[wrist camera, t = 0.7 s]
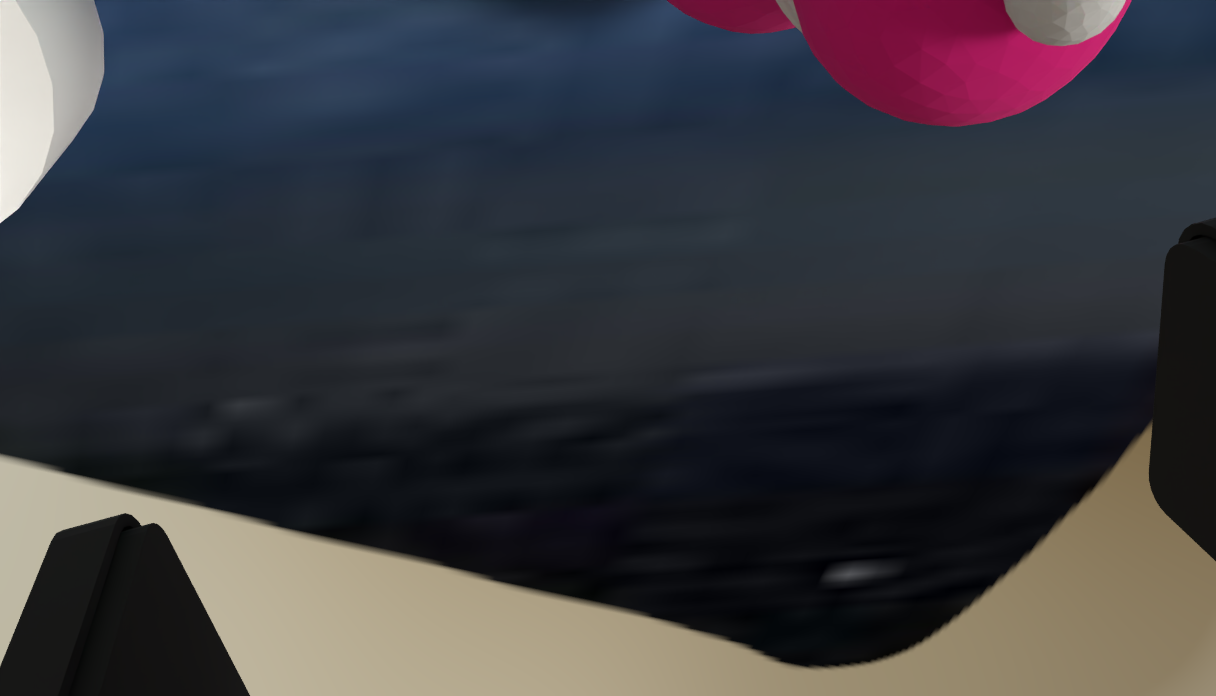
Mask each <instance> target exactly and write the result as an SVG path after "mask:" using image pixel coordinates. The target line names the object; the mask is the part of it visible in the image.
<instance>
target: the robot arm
mask: <svg viewBox="0 0 1216 696" xmlns="http://www.w3.org/2000/svg"><path fill="white" fill-rule="evenodd" d="M1149 482H1150V486H1151V490H1152V493H1153V495H1154V498H1155V500H1156V501H1157V503H1158V504H1159V506H1160V508H1161V509H1162V510H1163V511H1164V512H1165V514H1166V515H1167V516H1169V517H1170V518H1171V519H1172V520H1173V521H1174V522H1175V523H1176V524H1177V525H1178V526H1179V527H1180V528H1182V530H1183V531H1184V532H1186V533H1187V534H1188V535H1189V536H1190V537H1191V538H1192V539H1193V540H1194V541H1195V542H1196V543H1197V544H1198V545H1199V546H1200V547H1201V548H1202V549H1203V550H1205V551H1206V552H1207V553H1208V554H1209V555H1210V556H1211V557H1212V558H1213V559H1214V560H1215V561H1216V218H1213V219H1209V220H1205V221H1202V222H1198V223H1194V224H1191V225H1190V226H1189V227H1187V228H1186V229H1185V230H1184V231H1183V233H1182V235H1181V236H1180V238H1179V242H1178V244H1176V245H1175V246H1173V247H1172V248H1170V250H1169V252H1168V254H1167V256H1166V261H1165V269H1164V282H1163V295H1162V308H1161V321H1160V334H1159V347H1158V360H1157V373H1156V386H1155V399H1154V412H1153V425H1152V438H1151V451H1150V465H1149ZM0 696H250V695H249V693H248V691H247V689H246V687H245V685H244V683H243V681H242V679H241V677H240V675H239V674H238V672H237V670H236V668H235V666H234V664H233V662H232V660H231V658H230V656H229V654H228V652H227V650H226V648H225V647H224V644H223V643H222V641H221V639H220V637H219V635H218V633H217V631H216V629H215V627H214V625H213V623H212V621H211V619H210V617H209V616H208V614H207V612H206V610H205V608H204V606H203V604H202V602H201V600H200V598H199V596H198V595H197V593H196V590H195V588H194V587H193V585H192V583H191V581H190V579H189V577H188V575H187V573H186V571H185V569H184V567H183V565H182V563H181V561H180V560H179V558H178V556H177V554H176V552H175V550H174V548H173V546H172V544H171V542H170V540H169V538H168V536H167V535H166V533H165V532H164V530H163V529H162V528H161V527H160V526H159V525H158V524H155V523H151V524H148V525H144V526H141V525H140V523H139V522H138V521H137V520H136V519H135V518H134V517H133V516H132V515H129V514H126V513H125V514H121V515H118V516H114V517H110V518H106V519H103V520H99V521H95V522H92V523H88V524H84V525H80V526H77V527H73V528H69V529H66V530H62V531H60V532H58V533H56V535H55V536H54V538H53V539H52V541H51V543H50V545H49V548H48V550H47V553H46V556H45V558H44V560H43V563H42V565H41V568H40V570H39V573H38V575H37V577H36V580H35V583H34V585H33V587H32V590H31V592H30V595H29V597H28V600H27V602H26V604H25V607H24V609H23V612H22V614H21V617H20V619H19V622H18V624H17V627H16V629H15V632H14V634H13V637H12V639H11V642H10V644H9V646H8V649H7V651H6V654H5V656H4V659H3V661H2V663H1V666H0Z"/></svg>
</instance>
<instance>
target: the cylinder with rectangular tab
mask: <svg viewBox="0 0 1216 696" xmlns="http://www.w3.org/2000/svg"><path fill="white" fill-rule="evenodd" d="M103 75H104V33H103V30H102V26H101V23H100V19H99V16H98V12H97V9H96V5H95V2H94V0H0V223H1V222H2V221H3V220H5V219H6V218H7V217H8V216H10V215H11V214H12V213H14V212H15V211H16V210H17V209H18V208H19V207H20V206H21V205H22V203H23V202H24V201H25V200H26V198H27V197H28V196H29V195H30V193H31V192H32V191H33V190H34V188H35V187H36V186H37V185H38V183H39V182H40V181H41V180H42V178H43V177H44V176H45V175H46V173H47V172H48V171H49V169H50V168H51V167H52V166H53V164H54V163H55V162H56V161H57V159H58V158H59V157H60V156H61V154H62V153H63V152H64V151H65V149H66V148H67V147H68V146H69V144H70V143H71V142H72V141H73V139H74V138H75V136H76V135H77V133H78V132H79V130H80V129H81V127H82V126H83V124H84V123H85V122H86V120H87V119H88V117H89V116H90V114H91V113H92V111H93V110H94V106H95V103H96V99H97V96H98V93H99V89H100V86H101V82H102V79H103Z"/></svg>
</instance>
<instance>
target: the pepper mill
mask: <svg viewBox="0 0 1216 696" xmlns="http://www.w3.org/2000/svg"><path fill="white" fill-rule="evenodd" d="M667 1H668V2H670V3H671V4H672V5H674V6H675V7H676V8H678V9H679V10H681V11H682V12H683V13H685V14H687V15H689V16H691V17H693V18H695V19H697V20H699V21H701V22H704V23H707V24H709V25H713V26H716V27H719V28H722V29H726V30H729V31H732V32H741V33H750V34H754V33H771V32H776V31H781V30H786V29H791V28H795V27H796V28H797V29H798V30H800V31H801V32H802V33H803V35H804V37H805V39H806V41H807V42H808V44H809V46H810V48H811V50H812V52H813V54H814V56H815V57H816V58H817V59H818V60H819V62H820V63H821V64H822V65H823V66H824V68H825V69H826V70H827V71H828V72H829V74H830V75H831V76H832V77H833V78H834V80H835V81H836V82H837V83H838V84H840V85H841V86H842V87H843V88H844V89H845V90H847V91H848V92H850V93H851V94H852V95H854V96H855V97H857V98H858V99H859V100H861V101H862V102H864V103H865V104H866V105H868V106H870V107H872V108H875V109H877V110H880V111H882V112H885V113H887V114H890V115H892V116H895V117H897V118H900V119H902V120H905V121H910V122H916V123H922V124H928V125H940V126H965V125H972V124H979V123H986V122H991V121H995V120H998V119H1001V118H1005V117H1008V116H1011V115H1014V114H1018V113H1021V112H1023V111H1025V110H1027V109H1029V108H1030V107H1032V106H1034V105H1036V104H1038V103H1040V102H1042V101H1044V100H1045V99H1047V98H1048V97H1050V96H1051V95H1052V94H1054V93H1055V92H1056V91H1058V90H1059V89H1060V88H1062V87H1063V86H1064V85H1066V84H1067V83H1069V82H1070V81H1071V80H1072V79H1073V78H1074V77H1075V76H1076V75H1077V74H1078V73H1079V72H1080V71H1081V70H1083V69H1084V68H1085V67H1086V66H1087V65H1088V64H1089V63H1090V62H1091V61H1092V60H1093V59H1094V58H1095V57H1096V56H1097V54H1098V53H1099V52H1100V50H1101V49H1102V48H1103V46H1104V45H1105V44H1106V42H1107V41H1108V40H1109V38H1110V37H1111V35H1112V34H1113V33H1114V31H1115V30H1116V28H1117V26H1118V25H1119V23H1120V21H1121V19H1122V17H1123V15H1124V14H1125V12H1126V10H1127V8H1128V6H1129V5H1130V2H1131V0H667Z"/></svg>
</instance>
